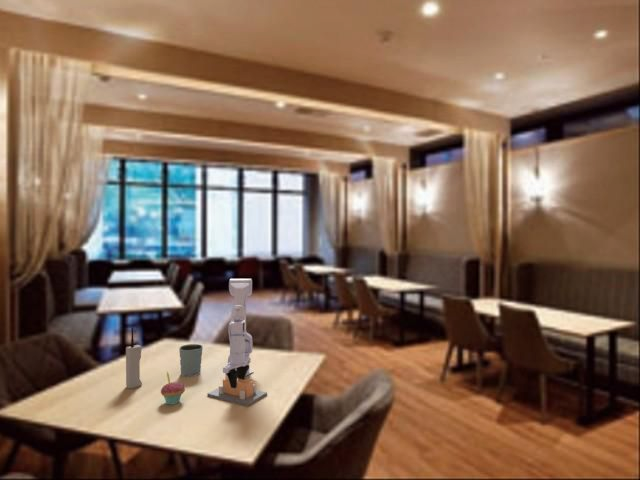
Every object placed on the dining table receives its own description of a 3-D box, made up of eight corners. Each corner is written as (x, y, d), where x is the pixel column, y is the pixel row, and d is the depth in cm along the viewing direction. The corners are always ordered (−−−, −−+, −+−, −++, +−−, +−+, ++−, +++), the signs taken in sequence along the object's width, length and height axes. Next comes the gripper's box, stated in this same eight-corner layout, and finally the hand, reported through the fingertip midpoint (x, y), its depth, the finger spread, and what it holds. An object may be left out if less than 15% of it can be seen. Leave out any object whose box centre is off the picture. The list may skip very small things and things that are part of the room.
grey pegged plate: (207, 396, 158) (207, 386, 158) (227, 385, 169) (227, 376, 169) (248, 406, 149) (248, 395, 149) (266, 394, 160) (266, 384, 160)
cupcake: (162, 408, 148) (161, 375, 147) (159, 399, 155) (159, 368, 155) (186, 403, 152) (186, 372, 151) (182, 395, 159) (182, 365, 159)
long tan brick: (222, 392, 160) (222, 373, 160) (229, 388, 164) (229, 370, 163) (246, 397, 154) (246, 378, 154) (253, 394, 158) (253, 375, 158)
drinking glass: (174, 375, 182) (174, 348, 181) (189, 367, 191) (189, 342, 191) (192, 378, 178) (192, 351, 177) (207, 370, 187) (207, 345, 187)
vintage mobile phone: (142, 385, 169) (141, 326, 168) (130, 389, 165) (129, 328, 164) (138, 383, 171) (137, 325, 171) (126, 386, 167) (125, 327, 167)
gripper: (233, 358, 150) (233, 394, 151) (256, 348, 163) (256, 381, 164) (218, 355, 154) (218, 390, 154) (242, 345, 167) (242, 378, 167)
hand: (237, 385), depth 159 cm, fingers closed on long tan brick, 4 cm apart
